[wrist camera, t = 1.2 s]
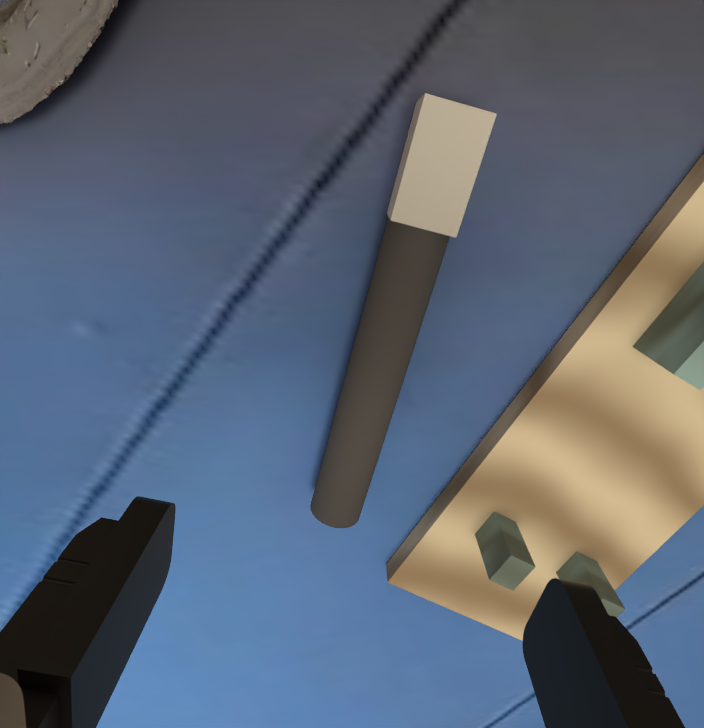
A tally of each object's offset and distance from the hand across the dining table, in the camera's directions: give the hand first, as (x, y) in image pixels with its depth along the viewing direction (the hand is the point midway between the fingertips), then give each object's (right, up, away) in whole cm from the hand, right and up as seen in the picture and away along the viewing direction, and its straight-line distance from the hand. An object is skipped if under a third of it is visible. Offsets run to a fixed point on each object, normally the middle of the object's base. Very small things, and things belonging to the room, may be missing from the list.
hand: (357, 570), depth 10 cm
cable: (+2, +6, +16) cm, 17 cm away
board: (+15, 0, +18) cm, 24 cm away
